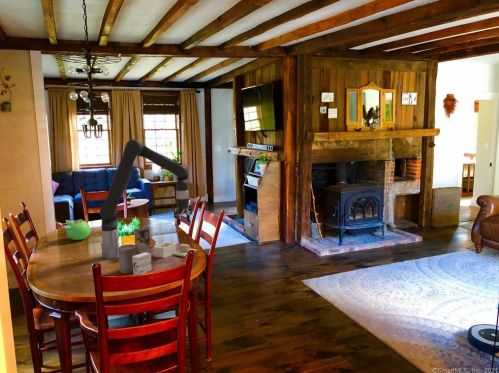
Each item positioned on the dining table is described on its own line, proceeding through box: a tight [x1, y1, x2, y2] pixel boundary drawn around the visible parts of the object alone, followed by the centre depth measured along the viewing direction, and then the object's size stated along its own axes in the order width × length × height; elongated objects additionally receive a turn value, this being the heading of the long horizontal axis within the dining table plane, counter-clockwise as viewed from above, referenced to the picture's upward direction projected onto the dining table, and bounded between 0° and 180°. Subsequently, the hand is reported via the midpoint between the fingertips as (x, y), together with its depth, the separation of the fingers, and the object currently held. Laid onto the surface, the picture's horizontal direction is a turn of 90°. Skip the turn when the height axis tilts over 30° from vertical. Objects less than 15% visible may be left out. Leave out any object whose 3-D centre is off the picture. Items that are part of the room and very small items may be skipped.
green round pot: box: [63, 218, 91, 241], centre depth 285 cm, size 18×17×15 cm
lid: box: [172, 243, 198, 258], centre depth 247 cm, size 12×9×6 cm
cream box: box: [153, 241, 177, 259], centre depth 246 cm, size 11×8×6 cm
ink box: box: [132, 252, 153, 276], centre depth 210 cm, size 9×5×12 cm, turn 141°
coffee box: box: [133, 227, 152, 255], centre depth 247 cm, size 9×6×16 cm
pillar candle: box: [118, 244, 137, 275], centre depth 219 cm, size 10×10×15 cm
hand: (183, 223), depth 245 cm, fingers open, 8 cm apart
